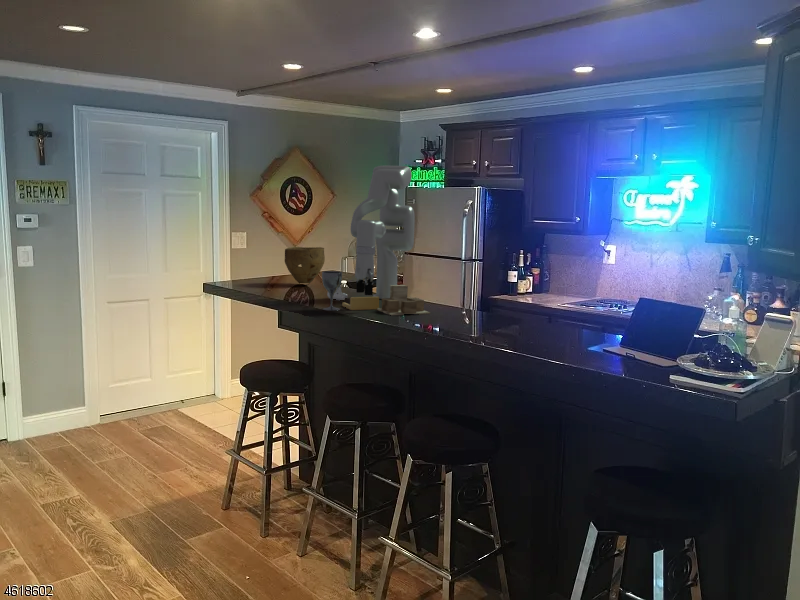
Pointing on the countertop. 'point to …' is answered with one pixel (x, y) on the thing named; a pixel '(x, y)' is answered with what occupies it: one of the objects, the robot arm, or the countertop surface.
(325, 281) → the wine glass
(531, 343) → the countertop surface
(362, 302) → the tan wooden block
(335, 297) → the seated beast figurine
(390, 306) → the stepped wooden block
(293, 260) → the bowl
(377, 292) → the robot arm
